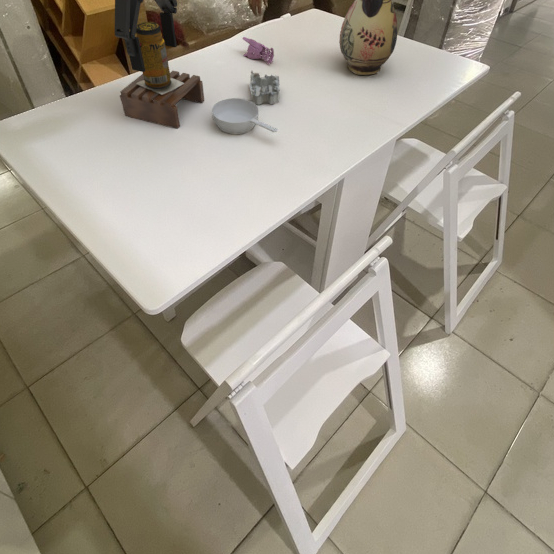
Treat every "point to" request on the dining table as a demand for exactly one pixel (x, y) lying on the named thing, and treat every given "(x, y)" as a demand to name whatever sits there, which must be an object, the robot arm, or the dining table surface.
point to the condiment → (155, 59)
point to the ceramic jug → (368, 35)
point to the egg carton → (264, 88)
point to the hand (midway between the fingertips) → (155, 57)
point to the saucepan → (237, 116)
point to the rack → (160, 100)
